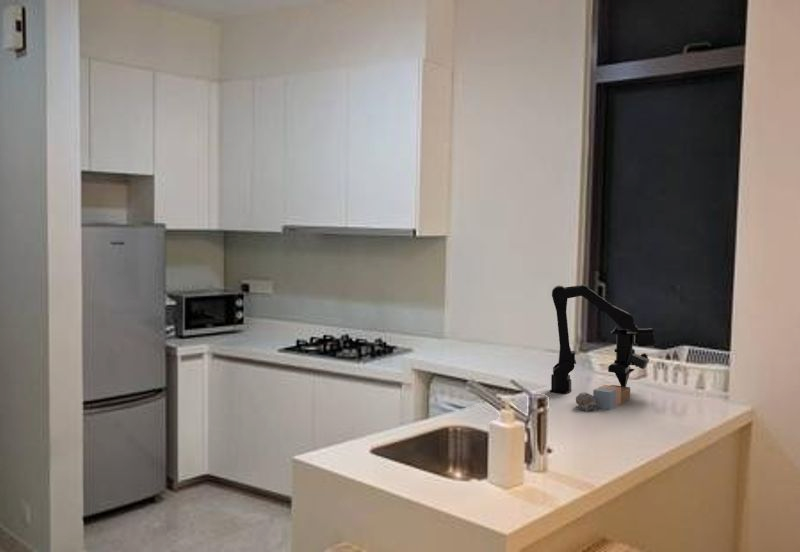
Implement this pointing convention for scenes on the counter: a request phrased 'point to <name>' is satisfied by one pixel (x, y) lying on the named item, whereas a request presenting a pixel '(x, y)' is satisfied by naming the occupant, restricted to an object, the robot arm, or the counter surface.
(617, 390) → the terracotta clay cube
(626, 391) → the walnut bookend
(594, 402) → the mineral specimen
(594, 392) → the light blue block
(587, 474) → the counter surface
